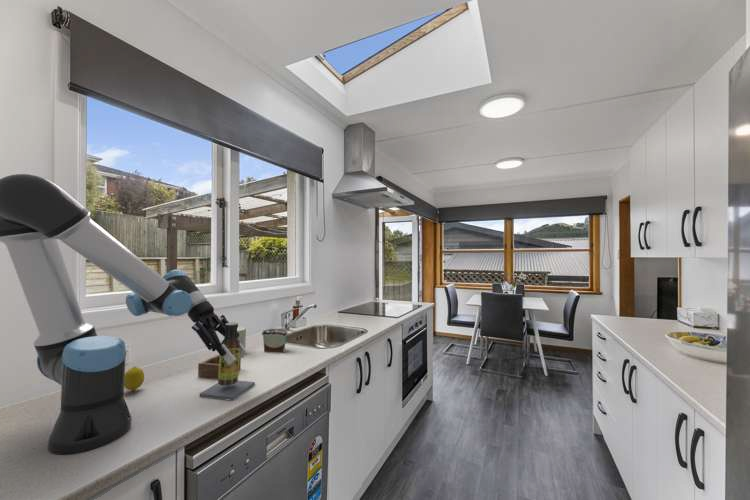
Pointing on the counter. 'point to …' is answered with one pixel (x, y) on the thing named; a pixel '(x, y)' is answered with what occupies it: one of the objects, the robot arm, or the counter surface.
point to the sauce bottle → (230, 372)
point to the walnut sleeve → (211, 367)
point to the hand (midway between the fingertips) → (238, 358)
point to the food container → (274, 340)
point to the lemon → (133, 378)
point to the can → (242, 335)
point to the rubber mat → (227, 390)
